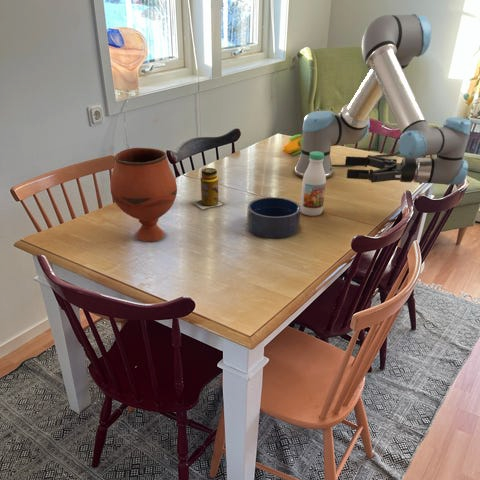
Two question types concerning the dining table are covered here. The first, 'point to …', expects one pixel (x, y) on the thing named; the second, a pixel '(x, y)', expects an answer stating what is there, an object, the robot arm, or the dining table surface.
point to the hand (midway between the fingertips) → (346, 166)
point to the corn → (293, 145)
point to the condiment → (208, 189)
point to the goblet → (144, 188)
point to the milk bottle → (313, 186)
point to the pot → (273, 217)
